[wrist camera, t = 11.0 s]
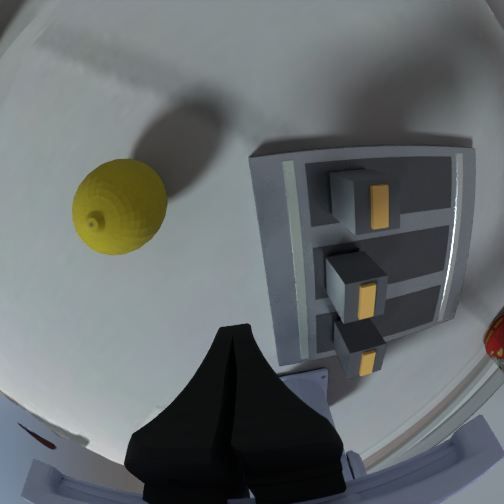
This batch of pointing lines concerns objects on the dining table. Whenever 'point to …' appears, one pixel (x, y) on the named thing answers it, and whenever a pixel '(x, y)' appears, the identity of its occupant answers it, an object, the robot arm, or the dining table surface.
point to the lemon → (119, 206)
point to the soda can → (496, 341)
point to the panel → (362, 239)
